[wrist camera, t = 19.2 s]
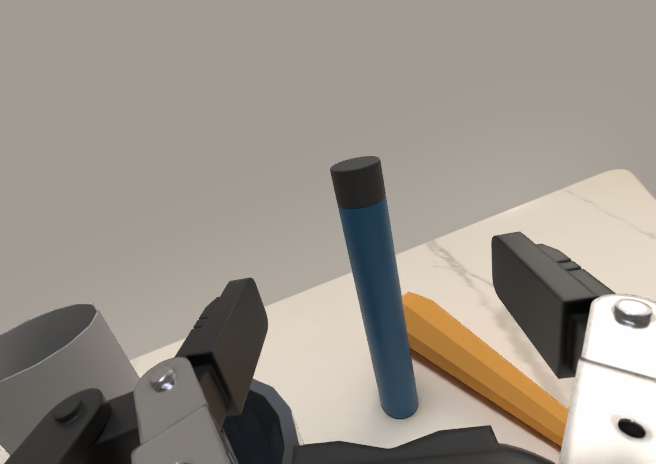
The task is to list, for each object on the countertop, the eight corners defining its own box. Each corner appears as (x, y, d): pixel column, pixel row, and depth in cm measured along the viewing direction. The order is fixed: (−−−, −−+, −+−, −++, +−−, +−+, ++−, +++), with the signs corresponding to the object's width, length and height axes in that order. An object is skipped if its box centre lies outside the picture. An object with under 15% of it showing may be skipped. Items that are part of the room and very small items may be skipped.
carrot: (391, 338, 30) (371, 313, 28) (423, 303, 31) (407, 275, 29) (694, 597, 15) (715, 596, 12) (741, 512, 16) (771, 493, 13)
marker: (383, 420, 23) (328, 174, 16) (379, 389, 25) (330, 162, 18) (421, 416, 22) (382, 163, 16) (414, 384, 25) (377, 152, 18)
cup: (150, 376, 32) (100, 290, 28) (160, 438, 25) (97, 337, 21) (46, 432, 28) (-27, 342, 24) (26, 522, 22) (-79, 418, 18)
